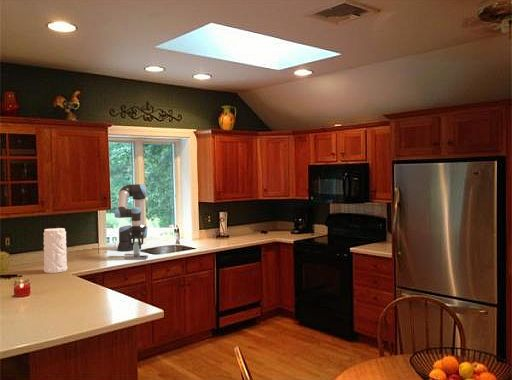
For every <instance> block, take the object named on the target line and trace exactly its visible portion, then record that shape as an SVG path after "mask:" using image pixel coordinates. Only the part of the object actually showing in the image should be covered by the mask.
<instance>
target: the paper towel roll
mask: <svg viewBox="0 0 512 380" xmlns="http://www.w3.org/2000/svg"><path fill="white" fill-rule="evenodd" d="M42 244H43V251H44V252H43V263H44V266H43V269H42V270H43V273H47V274H54V273H55V274H56V273H63V272H66V271H67V270H68V265H67V261H68V259H67V258H68V257H67V254H68V252H67V231H66V228H64V227H63V228H62V227H56V228H44V232H43V243H42Z"/></svg>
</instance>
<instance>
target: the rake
mask: <svg viewBox="0 0 512 380" xmlns="http://www.w3.org/2000/svg"><path fill="white" fill-rule="evenodd" d="M138 245H139V242H138V241H134V253H133V254H134V257H140V255H141V254H140V253H141V252H140V253H138Z"/></svg>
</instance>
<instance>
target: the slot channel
mask: <svg viewBox="0 0 512 380" xmlns="http://www.w3.org/2000/svg"><path fill="white" fill-rule="evenodd" d="M148 258H149V255H146V254H145V255H144V254H143V255H141V254H140V257H124V260H123V261H146V260H147V259H148Z"/></svg>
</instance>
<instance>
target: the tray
mask: <svg viewBox="0 0 512 380" xmlns="http://www.w3.org/2000/svg"><path fill="white" fill-rule="evenodd" d="M104 260H105V261H125V260H124V255H109V256H106V257H105V258H104Z"/></svg>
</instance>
